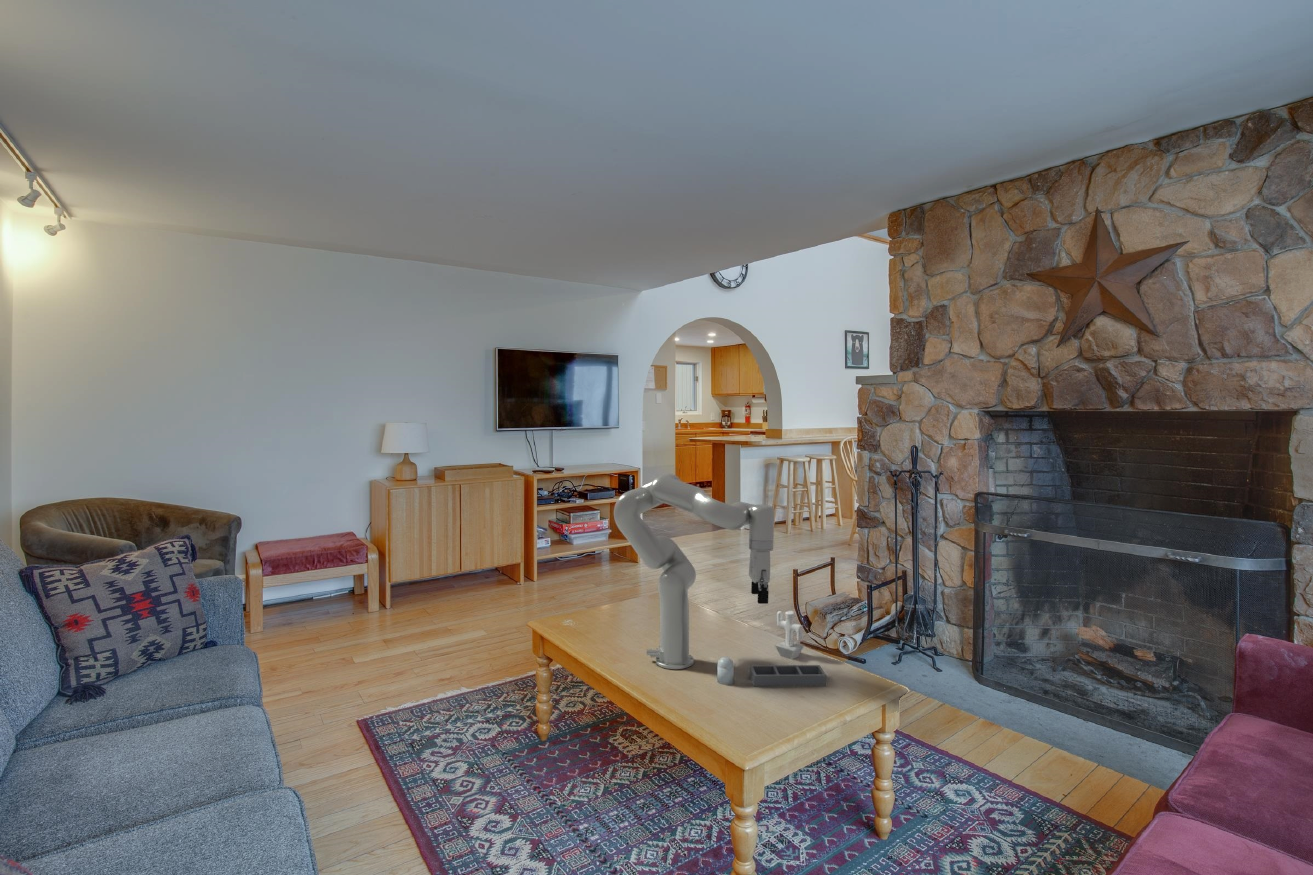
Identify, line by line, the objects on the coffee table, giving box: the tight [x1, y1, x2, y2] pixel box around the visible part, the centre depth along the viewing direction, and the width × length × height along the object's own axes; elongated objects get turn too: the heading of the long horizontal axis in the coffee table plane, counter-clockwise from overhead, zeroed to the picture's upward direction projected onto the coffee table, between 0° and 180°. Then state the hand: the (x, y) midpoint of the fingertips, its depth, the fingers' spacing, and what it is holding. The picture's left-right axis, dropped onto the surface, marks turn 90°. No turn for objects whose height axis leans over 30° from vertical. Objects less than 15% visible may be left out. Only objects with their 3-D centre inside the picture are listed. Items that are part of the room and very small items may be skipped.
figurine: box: [774, 610, 805, 660], centre depth 217 cm, size 7×9×15 cm
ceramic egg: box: [716, 656, 735, 686], centre depth 197 cm, size 5×5×8 cm
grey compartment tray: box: [749, 664, 828, 688], centre depth 197 cm, size 22×8×3 cm, turn 91°
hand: (759, 598), depth 202 cm, fingers open, 9 cm apart
